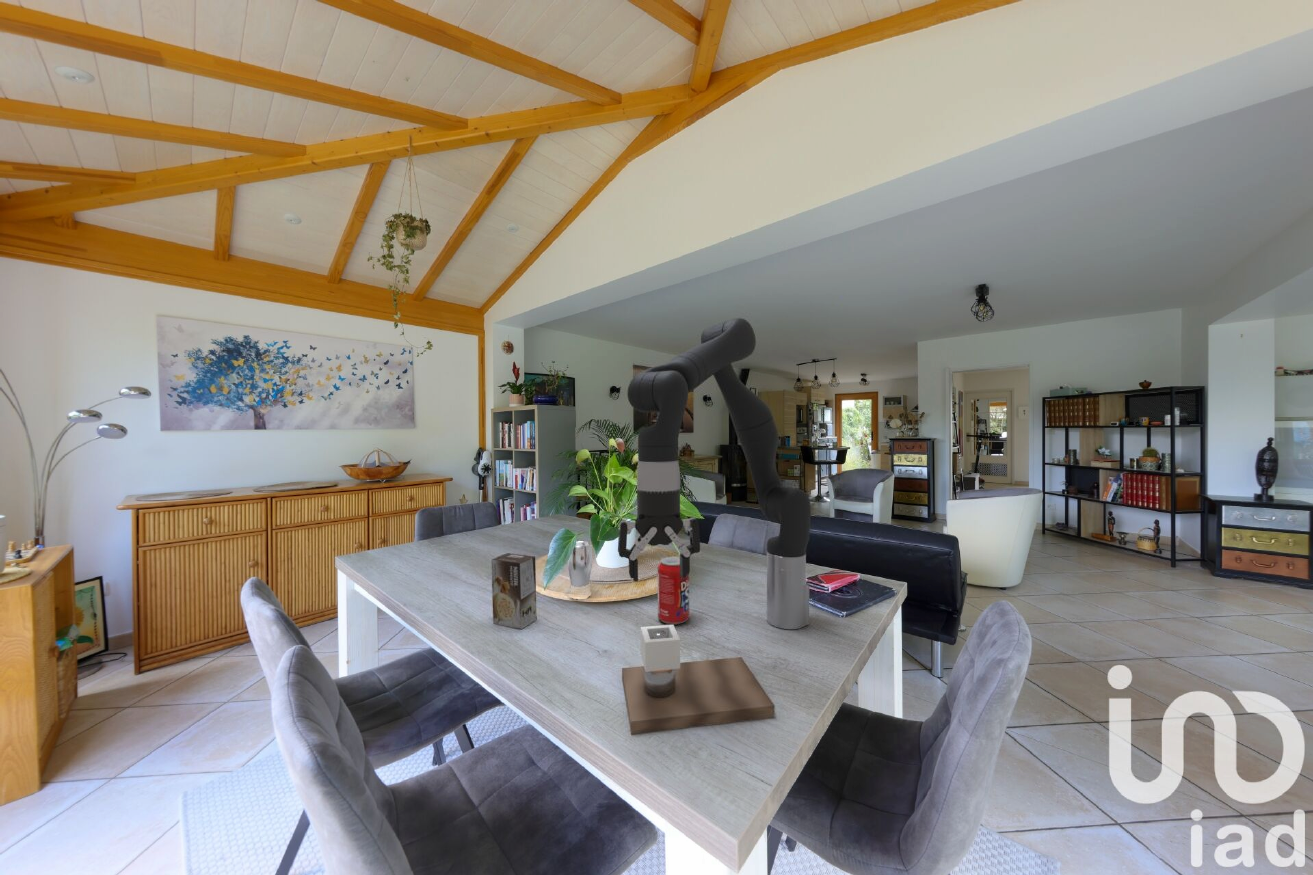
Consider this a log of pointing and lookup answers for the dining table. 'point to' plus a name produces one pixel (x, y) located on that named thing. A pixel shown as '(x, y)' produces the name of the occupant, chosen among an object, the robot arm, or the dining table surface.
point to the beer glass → (580, 564)
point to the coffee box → (514, 590)
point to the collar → (660, 649)
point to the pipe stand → (693, 695)
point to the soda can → (672, 592)
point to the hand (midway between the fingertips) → (659, 578)
